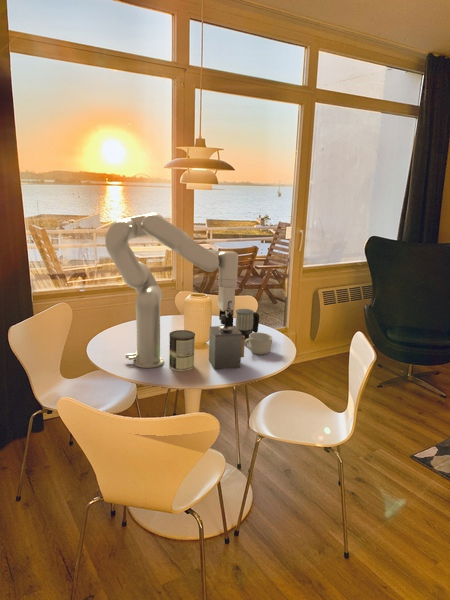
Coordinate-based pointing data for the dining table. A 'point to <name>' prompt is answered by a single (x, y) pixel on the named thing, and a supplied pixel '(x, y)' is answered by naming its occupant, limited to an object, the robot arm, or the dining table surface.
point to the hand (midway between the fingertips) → (225, 323)
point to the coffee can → (181, 350)
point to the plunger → (222, 327)
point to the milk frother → (247, 321)
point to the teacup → (259, 343)
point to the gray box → (225, 348)
